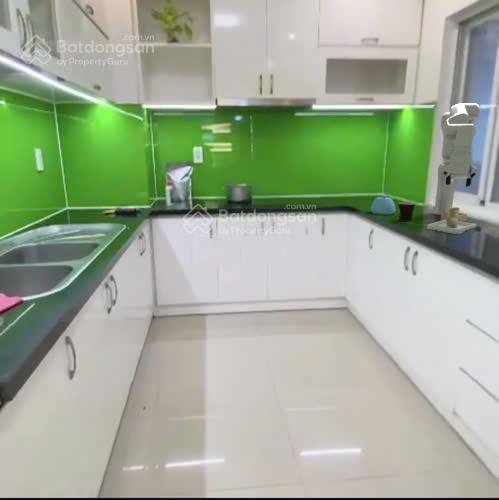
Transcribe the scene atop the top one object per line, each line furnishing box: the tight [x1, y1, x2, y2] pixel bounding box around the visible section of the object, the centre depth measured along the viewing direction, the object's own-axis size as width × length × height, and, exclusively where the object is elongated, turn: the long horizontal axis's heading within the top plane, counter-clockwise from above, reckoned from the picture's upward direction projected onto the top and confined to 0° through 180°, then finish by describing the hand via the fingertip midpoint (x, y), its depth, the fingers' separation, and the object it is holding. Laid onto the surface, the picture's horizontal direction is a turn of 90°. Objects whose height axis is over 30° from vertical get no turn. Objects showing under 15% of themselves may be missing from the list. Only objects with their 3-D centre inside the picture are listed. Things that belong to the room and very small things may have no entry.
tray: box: [427, 220, 477, 235], centre depth 199 cm, size 16×20×2 cm
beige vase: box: [446, 206, 460, 228], centre depth 198 cm, size 5×5×10 cm
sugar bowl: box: [370, 194, 396, 216], centre depth 245 cm, size 15×15×12 cm
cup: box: [440, 212, 468, 222], centre depth 215 cm, size 10×10×5 cm
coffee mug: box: [398, 201, 416, 223], centre depth 219 cm, size 12×9×10 cm
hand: (457, 185), depth 194 cm, fingers open, 9 cm apart
